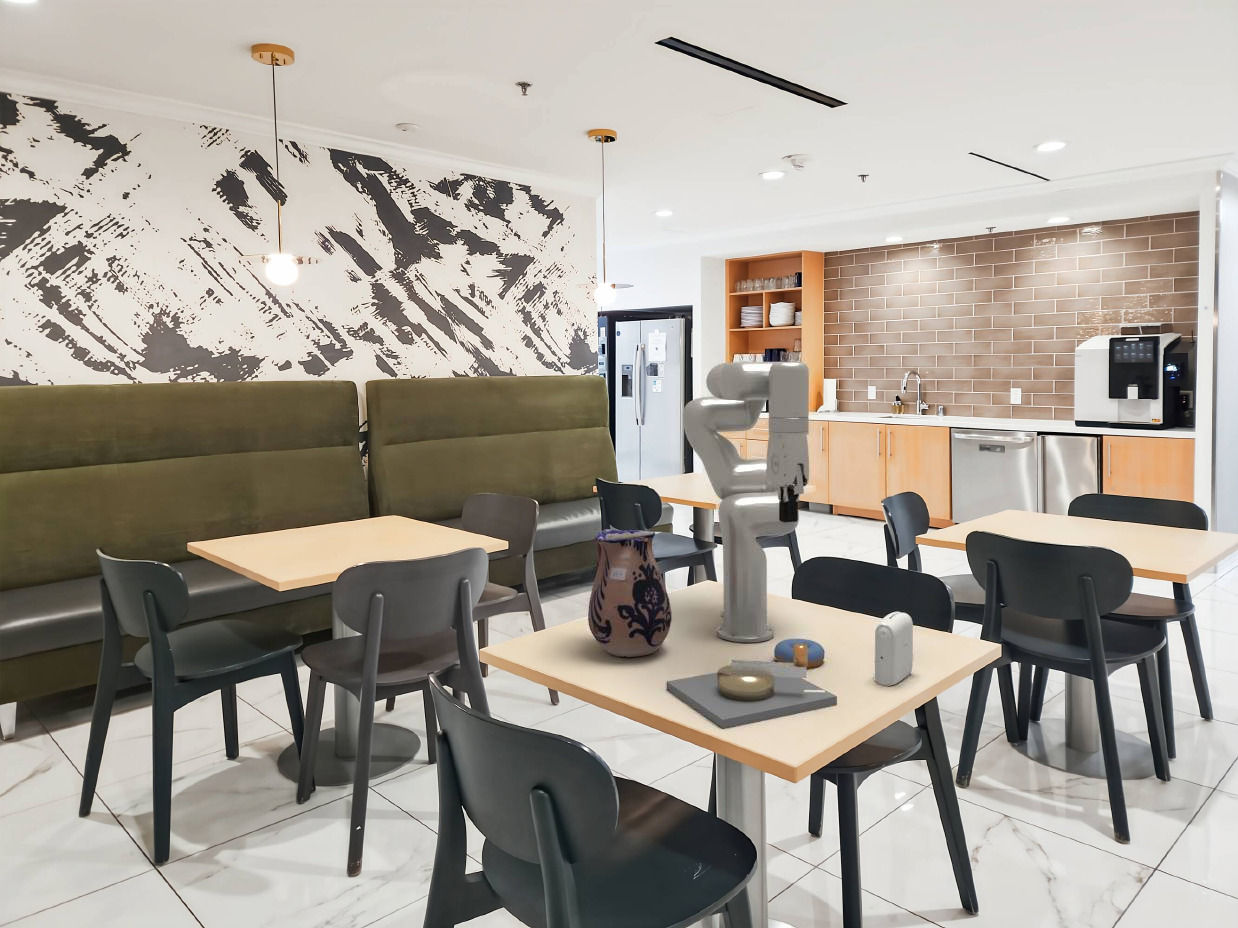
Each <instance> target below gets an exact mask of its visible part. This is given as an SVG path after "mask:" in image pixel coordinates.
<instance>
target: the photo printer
mask: <svg viewBox="0 0 1238 928" xmlns="http://www.w3.org/2000/svg"><path fill="white" fill-rule="evenodd" d="M913 623H914V622H913V620H912V617H911V616H910V615H909V614H908V613H906V612H901V611H894V612H891V613H889V614H887V615H885V616H884V617H883V618H882V619H881V620H880V621H879V622H878V624H877V626H876V627H875V631H874V680H875V682H877V684H879V685H881V686H887V687H888V686H889V687H890V686H894V685H896V684H898V683H900V682H901V681H902V680H904V679H906V678H907V676H909V675H910V674H911V673H912V671H913V656H914V655H913V652H914V651H913V649H914V648H913V647H914V644H913V643H914V640H913V638H914V633H913V632H914V624H913Z"/></svg>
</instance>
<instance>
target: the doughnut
mask: <svg viewBox="0 0 1238 928" xmlns="http://www.w3.org/2000/svg"><path fill="white" fill-rule="evenodd" d="M798 643H802V644H806V645H808V666H807V667H806V669H812V668H815V667H818V666H819V665H821V664H822V663H823V662H824V659H825V653H826V652H825V648H824V647H823V645H821V644H820V643H818V642H816V641H815V640H811V639H806V638H788V639H787V638H786V639H784V640H781V641H780V642H777V644H776V645H775V646H774V653H773V655H774V658H775V660H776V662H783V663H794V644H798Z"/></svg>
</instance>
